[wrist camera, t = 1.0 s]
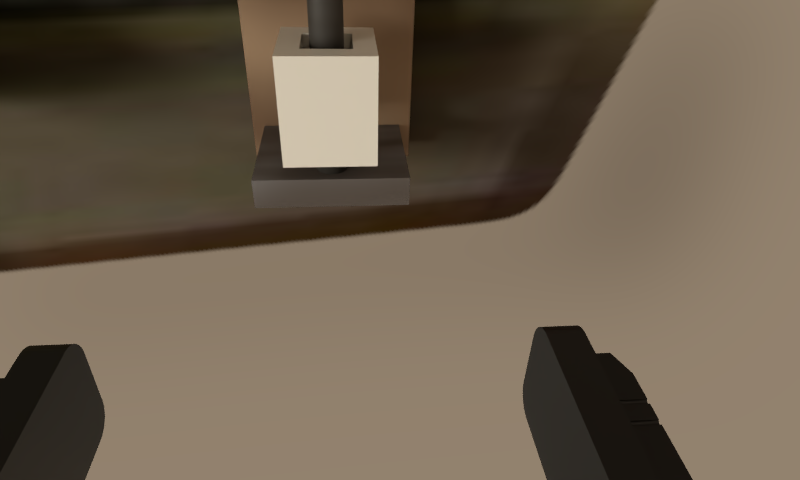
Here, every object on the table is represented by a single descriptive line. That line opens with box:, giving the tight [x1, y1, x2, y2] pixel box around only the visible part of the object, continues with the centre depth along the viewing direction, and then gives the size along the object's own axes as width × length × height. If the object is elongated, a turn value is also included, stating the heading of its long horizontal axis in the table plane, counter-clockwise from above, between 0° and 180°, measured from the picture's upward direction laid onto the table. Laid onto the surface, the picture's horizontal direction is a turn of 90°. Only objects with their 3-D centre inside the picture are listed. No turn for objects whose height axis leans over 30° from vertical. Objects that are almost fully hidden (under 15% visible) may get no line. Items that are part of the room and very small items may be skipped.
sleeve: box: [272, 27, 379, 168], centre depth 21 cm, size 4×3×3 cm
